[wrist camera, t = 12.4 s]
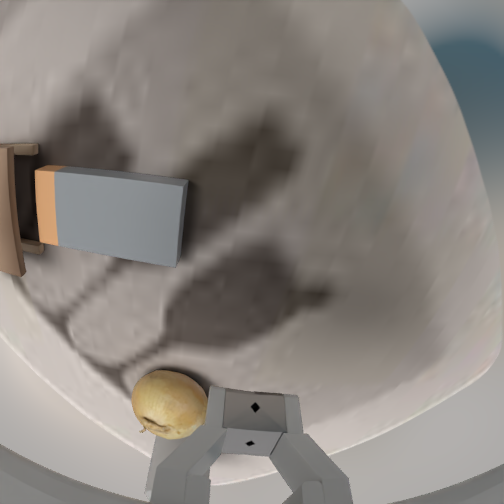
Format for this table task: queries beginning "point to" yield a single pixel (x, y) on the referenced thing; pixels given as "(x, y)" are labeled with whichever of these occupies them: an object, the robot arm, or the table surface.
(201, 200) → the table surface
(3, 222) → the tan bookend
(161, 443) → the can
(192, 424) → the onion
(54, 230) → the two-tone tall prism
